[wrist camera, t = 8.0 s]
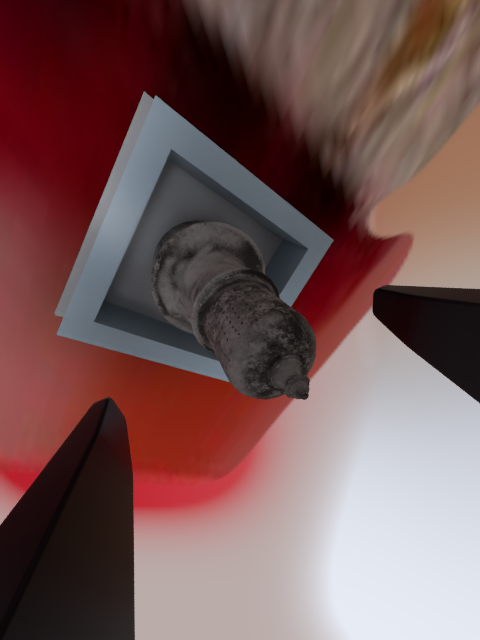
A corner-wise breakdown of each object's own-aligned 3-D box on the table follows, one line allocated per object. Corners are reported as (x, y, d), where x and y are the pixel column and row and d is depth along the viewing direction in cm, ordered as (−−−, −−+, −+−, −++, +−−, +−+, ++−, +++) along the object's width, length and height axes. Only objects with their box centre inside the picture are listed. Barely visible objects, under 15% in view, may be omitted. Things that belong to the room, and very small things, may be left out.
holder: (143, 97, 12) (146, 64, 9) (307, 227, 18) (345, 235, 15) (58, 307, 15) (36, 341, 12) (226, 361, 21) (243, 393, 18)
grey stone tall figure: (131, 288, 15) (124, 485, 5) (174, 193, 14) (281, 205, 4) (215, 321, 18) (318, 488, 8) (258, 245, 17) (445, 330, 7)
